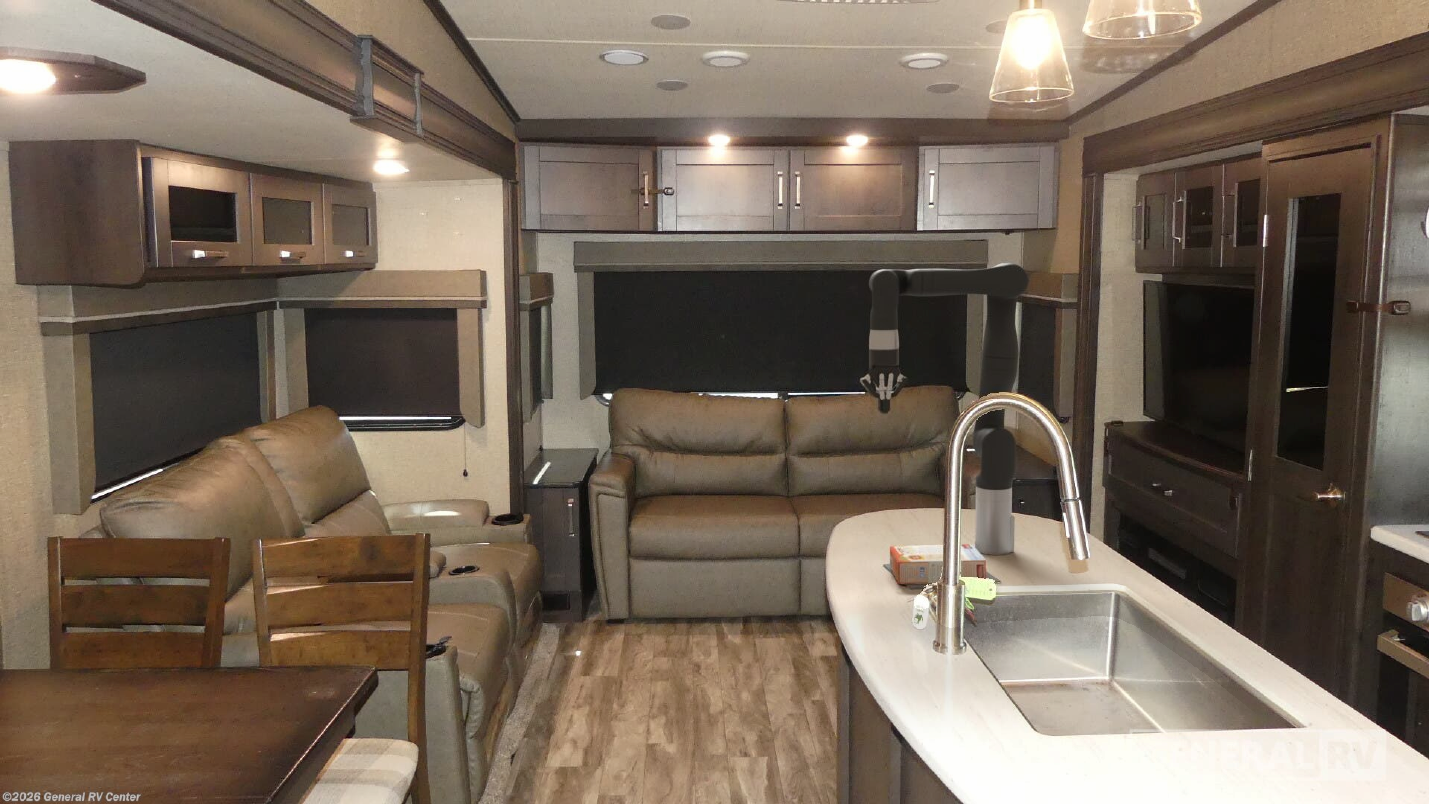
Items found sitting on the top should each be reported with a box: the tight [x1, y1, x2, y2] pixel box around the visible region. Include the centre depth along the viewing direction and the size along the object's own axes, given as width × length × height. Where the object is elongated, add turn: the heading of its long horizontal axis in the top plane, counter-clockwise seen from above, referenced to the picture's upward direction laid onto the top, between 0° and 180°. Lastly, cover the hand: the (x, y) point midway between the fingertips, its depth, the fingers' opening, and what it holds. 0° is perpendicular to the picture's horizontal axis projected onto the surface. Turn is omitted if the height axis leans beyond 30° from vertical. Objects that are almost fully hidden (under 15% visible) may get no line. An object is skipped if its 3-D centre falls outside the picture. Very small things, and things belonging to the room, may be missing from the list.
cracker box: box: [889, 543, 987, 585], centre depth 258 cm, size 14×6×21 cm
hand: (883, 413), depth 278 cm, fingers closed
